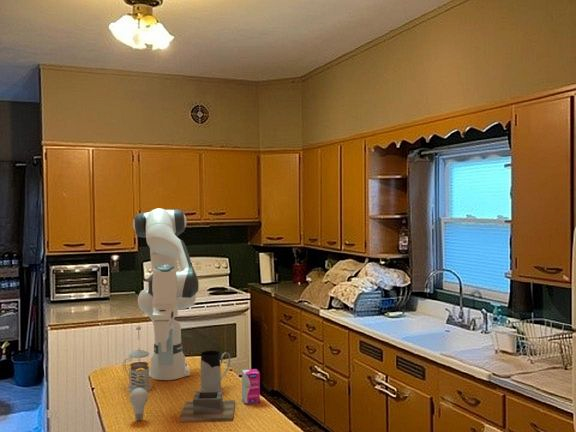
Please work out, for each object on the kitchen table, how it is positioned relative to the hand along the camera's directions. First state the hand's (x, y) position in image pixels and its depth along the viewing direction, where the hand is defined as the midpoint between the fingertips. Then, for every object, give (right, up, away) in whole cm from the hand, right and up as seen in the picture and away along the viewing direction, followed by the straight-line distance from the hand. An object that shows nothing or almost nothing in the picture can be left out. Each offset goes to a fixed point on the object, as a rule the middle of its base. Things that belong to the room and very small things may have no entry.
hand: (165, 349), depth 208 cm
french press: (-17, -22, +27) cm, 39 cm away
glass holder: (+15, -22, +25) cm, 36 cm away
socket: (+15, -22, -1) cm, 27 cm away
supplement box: (+30, -22, +10) cm, 38 cm away
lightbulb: (-7, -23, -8) cm, 25 cm away
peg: (0, -5, 0) cm, 5 cm away
